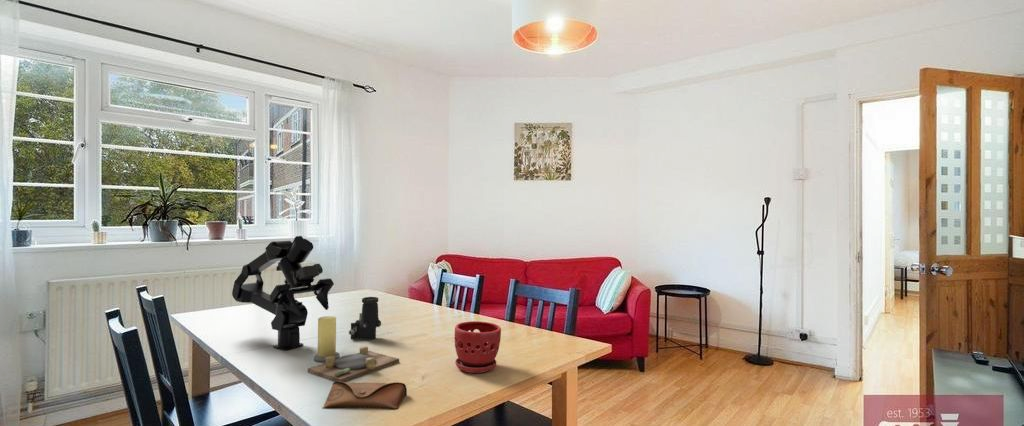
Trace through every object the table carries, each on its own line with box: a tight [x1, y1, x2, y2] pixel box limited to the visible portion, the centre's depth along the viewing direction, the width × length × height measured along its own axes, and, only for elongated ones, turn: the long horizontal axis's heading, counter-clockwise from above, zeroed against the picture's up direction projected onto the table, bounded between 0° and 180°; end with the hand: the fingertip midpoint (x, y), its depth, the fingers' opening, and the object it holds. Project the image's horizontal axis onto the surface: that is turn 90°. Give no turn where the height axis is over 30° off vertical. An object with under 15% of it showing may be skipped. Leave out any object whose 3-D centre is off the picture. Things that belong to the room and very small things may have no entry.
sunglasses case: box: [321, 381, 408, 410], centre depth 108 cm, size 18×7×7 cm
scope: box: [348, 296, 382, 341], centre depth 160 cm, size 8×14×10 cm
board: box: [307, 346, 400, 382], centre depth 130 cm, size 15×20×4 cm
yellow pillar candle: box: [313, 315, 340, 363], centre depth 138 cm, size 7×7×12 cm
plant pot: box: [454, 320, 502, 374], centre depth 131 cm, size 13×13×12 cm
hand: (314, 311), depth 141 cm, fingers open, 9 cm apart
